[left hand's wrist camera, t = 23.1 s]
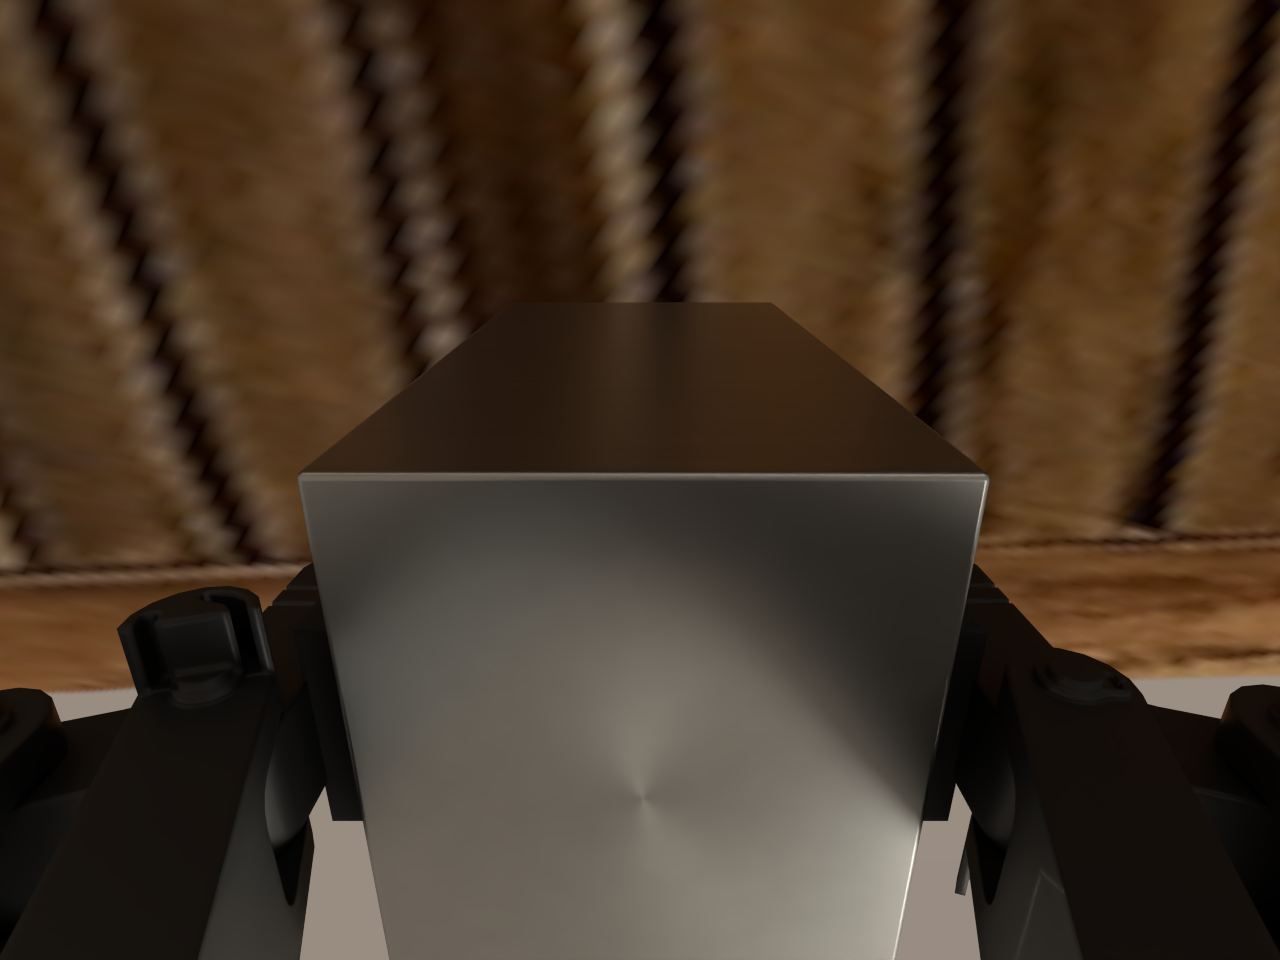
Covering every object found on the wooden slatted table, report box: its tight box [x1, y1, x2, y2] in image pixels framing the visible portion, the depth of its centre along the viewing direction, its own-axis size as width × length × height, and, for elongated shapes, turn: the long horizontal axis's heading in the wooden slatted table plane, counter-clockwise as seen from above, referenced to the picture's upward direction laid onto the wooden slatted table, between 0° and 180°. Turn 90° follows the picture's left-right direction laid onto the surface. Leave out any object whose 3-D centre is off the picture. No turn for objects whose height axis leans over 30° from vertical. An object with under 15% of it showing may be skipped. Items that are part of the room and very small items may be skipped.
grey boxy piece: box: [298, 303, 990, 960], centre depth 12 cm, size 6×7×11 cm
